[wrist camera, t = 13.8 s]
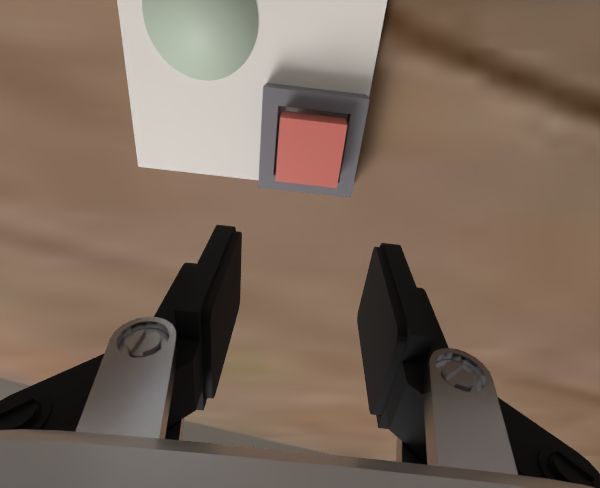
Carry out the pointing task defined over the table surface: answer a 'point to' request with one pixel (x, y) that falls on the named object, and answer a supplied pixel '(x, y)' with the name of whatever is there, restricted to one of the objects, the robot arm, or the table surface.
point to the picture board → (246, 80)
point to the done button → (310, 149)
